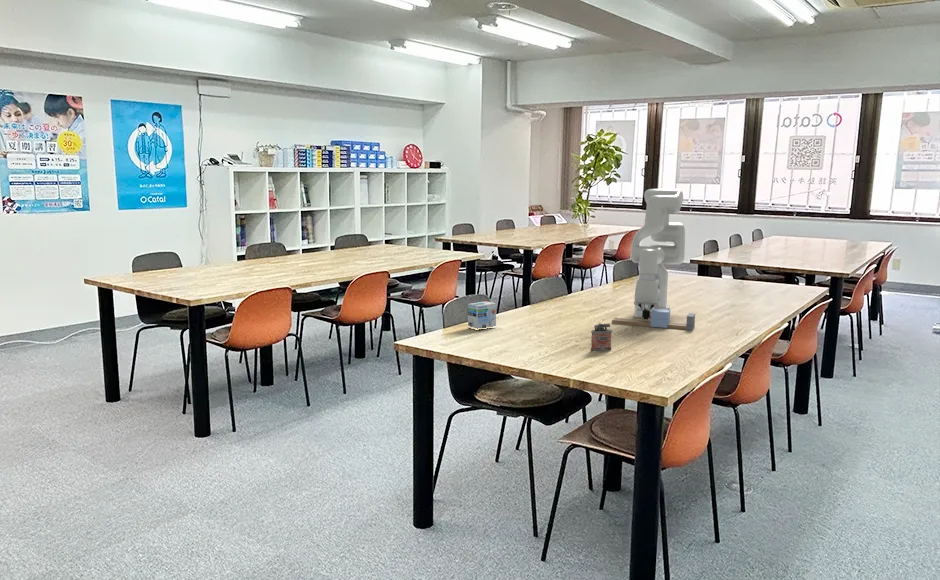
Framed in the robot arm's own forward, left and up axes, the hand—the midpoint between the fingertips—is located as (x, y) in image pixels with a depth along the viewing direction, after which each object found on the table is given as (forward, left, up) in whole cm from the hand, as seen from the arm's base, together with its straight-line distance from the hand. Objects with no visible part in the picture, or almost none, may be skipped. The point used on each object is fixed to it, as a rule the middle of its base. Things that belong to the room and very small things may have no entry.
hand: (645, 319), depth 306 cm
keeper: (0, +6, -3) cm, 7 cm away
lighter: (+54, -7, -3) cm, 55 cm away
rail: (0, +3, -3) cm, 4 cm away
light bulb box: (+36, -62, -3) cm, 72 cm away
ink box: (-20, -4, -3) cm, 21 cm away
